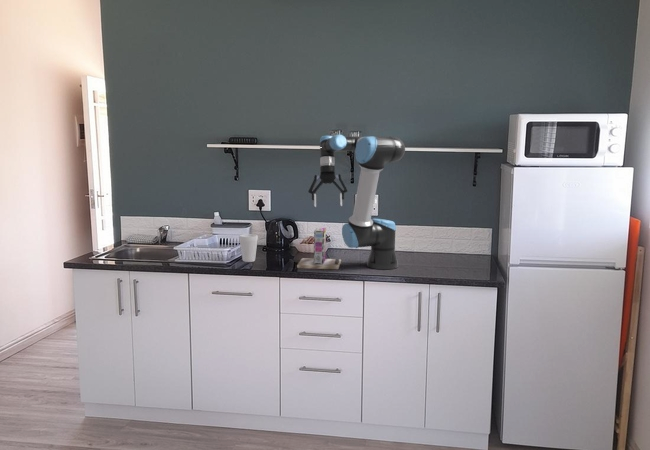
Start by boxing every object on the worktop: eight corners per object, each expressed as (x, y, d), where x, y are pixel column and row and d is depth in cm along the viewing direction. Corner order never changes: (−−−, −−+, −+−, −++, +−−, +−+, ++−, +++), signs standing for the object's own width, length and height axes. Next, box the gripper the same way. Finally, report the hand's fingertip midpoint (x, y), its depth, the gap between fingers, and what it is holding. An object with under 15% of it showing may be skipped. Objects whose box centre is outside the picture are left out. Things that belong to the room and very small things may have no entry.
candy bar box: (323, 264, 263) (324, 231, 261) (313, 264, 264) (313, 230, 261) (326, 259, 274) (326, 227, 272) (316, 259, 275) (316, 227, 272)
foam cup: (248, 263, 271) (248, 237, 269) (235, 260, 277) (235, 235, 275) (261, 260, 279) (261, 235, 277) (249, 257, 284) (248, 233, 282)
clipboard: (341, 261, 277) (341, 257, 276) (338, 269, 260) (338, 264, 260) (302, 260, 279) (302, 255, 278) (297, 268, 262) (297, 263, 262)
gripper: (351, 166, 287) (352, 206, 285) (304, 167, 289) (305, 207, 288) (351, 163, 279) (351, 204, 278) (302, 165, 282) (303, 206, 280)
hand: (328, 206), depth 283 cm, fingers open, 13 cm apart
